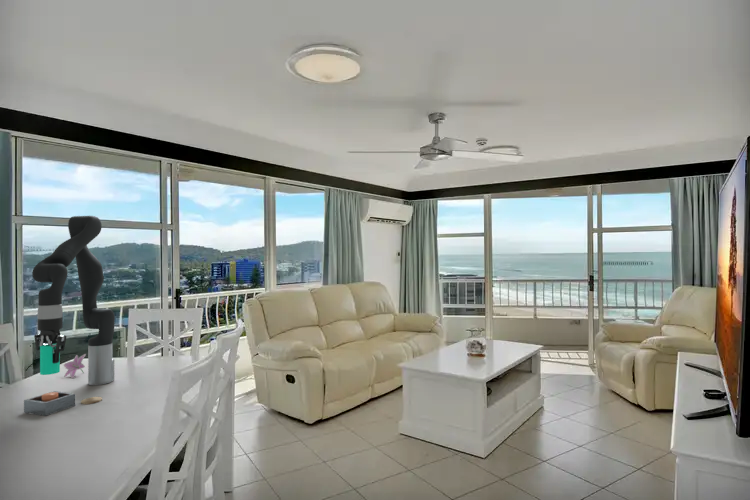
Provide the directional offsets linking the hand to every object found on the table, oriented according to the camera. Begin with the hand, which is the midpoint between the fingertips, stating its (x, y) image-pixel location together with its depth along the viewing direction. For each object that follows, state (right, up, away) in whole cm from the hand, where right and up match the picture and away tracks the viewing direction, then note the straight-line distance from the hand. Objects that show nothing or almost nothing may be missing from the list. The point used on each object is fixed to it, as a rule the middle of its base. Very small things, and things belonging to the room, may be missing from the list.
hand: (50, 362), depth 162 cm
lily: (-22, -18, +45) cm, 53 cm away
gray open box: (0, -17, 0) cm, 17 cm away
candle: (0, -4, 0) cm, 4 cm away
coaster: (+10, -17, +8) cm, 22 cm away
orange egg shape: (0, -14, 0) cm, 14 cm away
